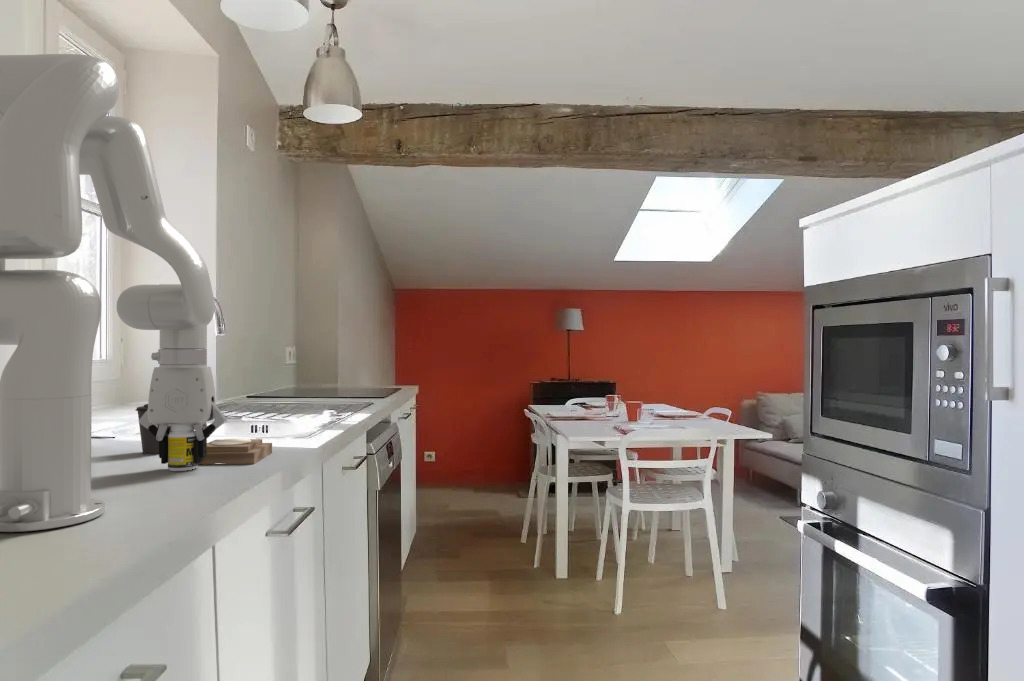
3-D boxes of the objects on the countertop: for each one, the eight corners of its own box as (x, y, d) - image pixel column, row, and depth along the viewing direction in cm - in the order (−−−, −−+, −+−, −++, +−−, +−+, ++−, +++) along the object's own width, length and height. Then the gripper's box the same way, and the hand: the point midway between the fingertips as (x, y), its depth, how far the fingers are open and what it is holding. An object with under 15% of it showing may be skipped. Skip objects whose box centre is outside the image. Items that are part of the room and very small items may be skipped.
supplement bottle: (189, 471, 112) (189, 423, 112) (162, 471, 112) (162, 423, 112) (203, 466, 117) (203, 419, 117) (177, 466, 117) (177, 419, 117)
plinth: (254, 463, 120) (254, 446, 120) (186, 464, 119) (186, 446, 119) (272, 452, 132) (272, 436, 132) (210, 453, 131) (210, 437, 131)
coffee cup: (166, 456, 127) (166, 405, 127) (125, 455, 128) (126, 405, 128) (188, 449, 135) (188, 401, 135) (149, 449, 136) (150, 401, 136)
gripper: (122, 359, 110) (121, 467, 110) (225, 359, 112) (225, 465, 112) (143, 358, 118) (142, 458, 118) (240, 358, 119) (239, 457, 119)
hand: (183, 461), depth 115 cm, fingers closed on supplement bottle, 4 cm apart
